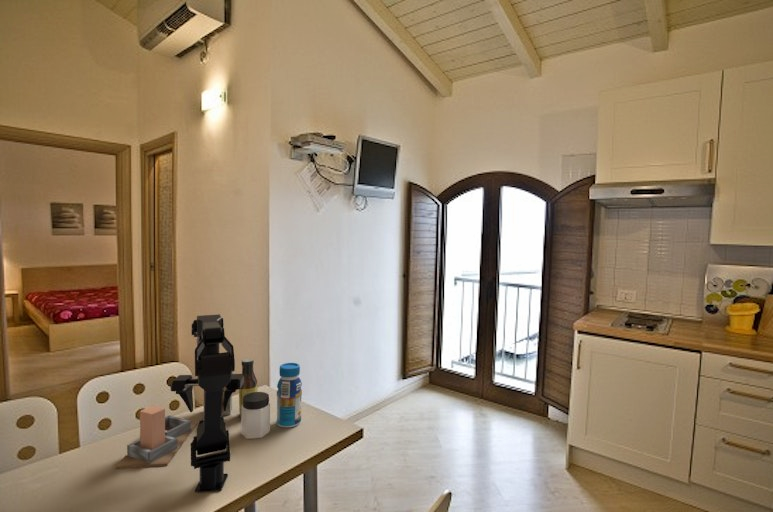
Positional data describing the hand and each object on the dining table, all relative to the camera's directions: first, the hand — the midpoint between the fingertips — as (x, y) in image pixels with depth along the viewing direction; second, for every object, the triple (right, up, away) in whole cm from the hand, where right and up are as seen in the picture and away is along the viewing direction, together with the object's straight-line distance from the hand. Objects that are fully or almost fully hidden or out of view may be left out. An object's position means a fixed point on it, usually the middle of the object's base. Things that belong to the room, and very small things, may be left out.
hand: (208, 411), depth 113 cm
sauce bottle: (+2, -12, +26) cm, 29 cm away
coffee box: (-9, -12, +28) cm, 31 cm away
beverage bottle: (+18, -13, +21) cm, 31 cm away
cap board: (-17, -12, +6) cm, 22 cm away
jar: (+9, -13, +14) cm, 21 cm away
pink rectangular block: (-16, -12, 0) cm, 20 cm away
